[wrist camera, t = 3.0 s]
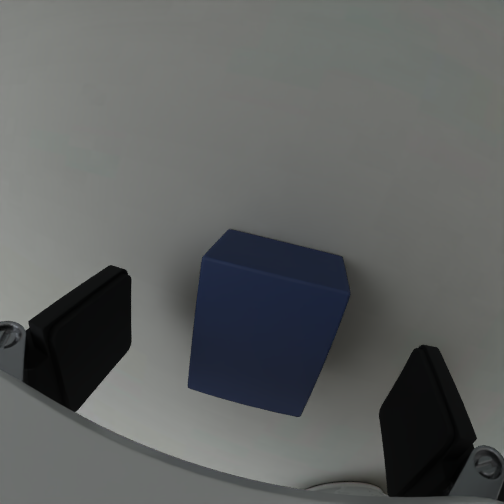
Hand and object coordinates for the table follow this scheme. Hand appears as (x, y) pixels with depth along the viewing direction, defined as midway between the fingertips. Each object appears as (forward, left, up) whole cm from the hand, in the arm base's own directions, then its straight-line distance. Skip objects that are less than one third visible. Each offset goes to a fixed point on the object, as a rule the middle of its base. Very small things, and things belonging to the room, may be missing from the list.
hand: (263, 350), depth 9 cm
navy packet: (0, 0, -2) cm, 2 cm away
